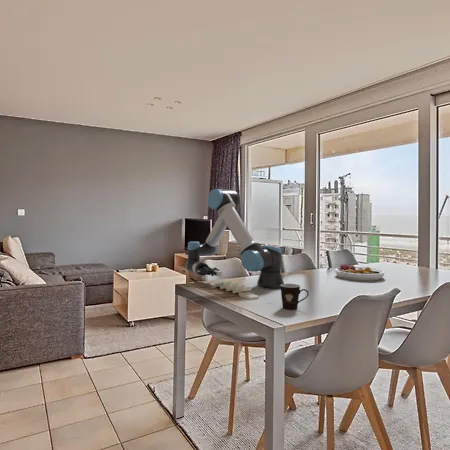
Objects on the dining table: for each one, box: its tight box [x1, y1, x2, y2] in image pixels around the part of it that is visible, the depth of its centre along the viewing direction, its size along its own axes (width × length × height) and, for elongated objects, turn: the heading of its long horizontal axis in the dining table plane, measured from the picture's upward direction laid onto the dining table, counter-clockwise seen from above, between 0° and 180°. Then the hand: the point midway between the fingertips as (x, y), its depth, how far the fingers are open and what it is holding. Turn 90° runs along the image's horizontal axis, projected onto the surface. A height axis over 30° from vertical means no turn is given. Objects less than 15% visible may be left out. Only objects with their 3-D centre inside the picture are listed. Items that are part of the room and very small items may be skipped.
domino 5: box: [239, 291, 260, 301], centre depth 180 cm, size 2×5×10 cm
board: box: [194, 284, 241, 300], centre depth 194 cm, size 31×17×1 cm, turn 31°
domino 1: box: [214, 281, 233, 287], centre depth 201 cm, size 2×5×10 cm
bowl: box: [335, 263, 385, 282], centre depth 241 cm, size 30×30×8 cm
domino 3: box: [226, 285, 245, 291], centre depth 191 cm, size 2×5×10 cm
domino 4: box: [232, 286, 253, 293], centre depth 185 cm, size 2×5×10 cm
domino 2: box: [220, 283, 239, 289], centre depth 196 cm, size 2×5×10 cm
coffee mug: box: [280, 283, 309, 311], centre depth 162 cm, size 12×9×10 cm
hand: (220, 274), depth 203 cm, fingers closed
